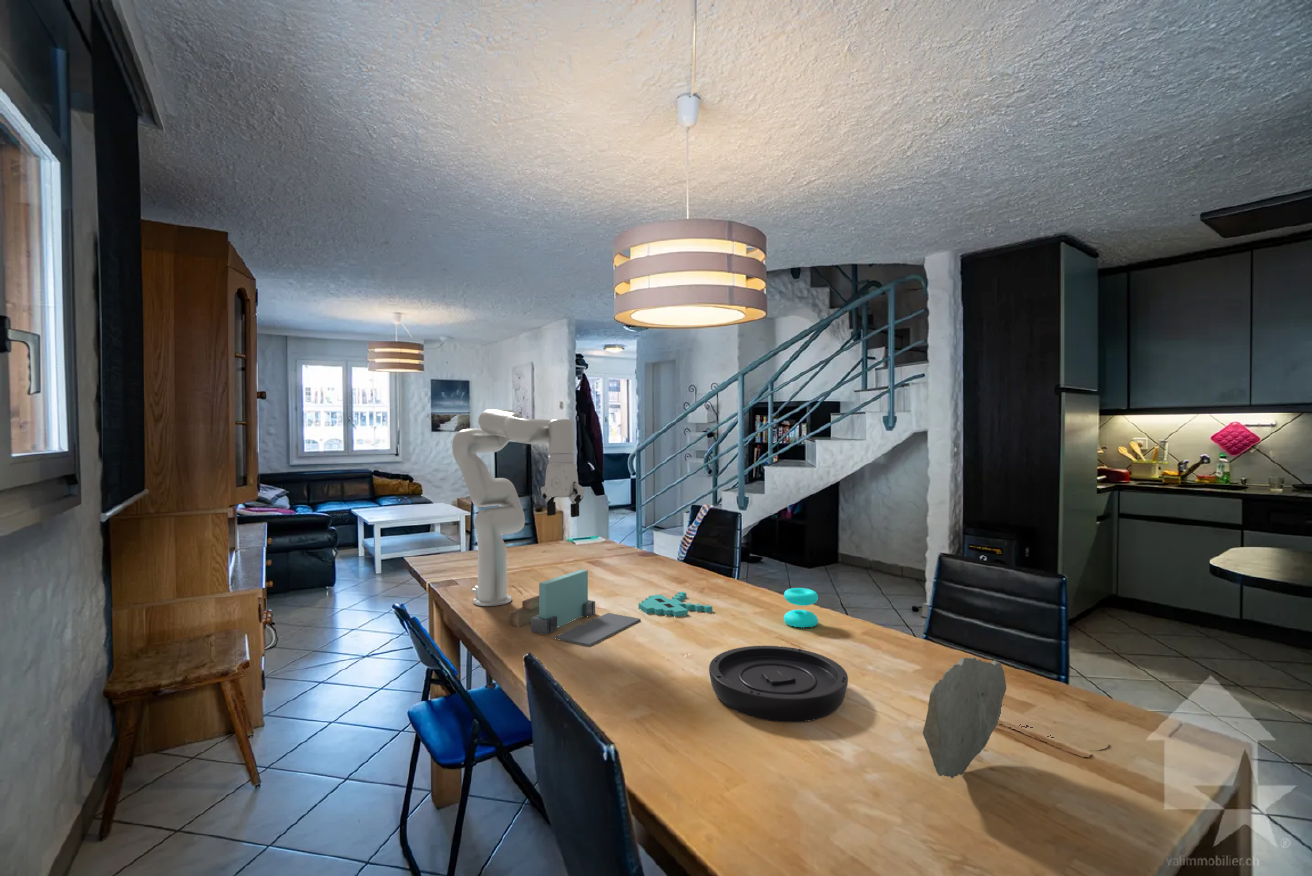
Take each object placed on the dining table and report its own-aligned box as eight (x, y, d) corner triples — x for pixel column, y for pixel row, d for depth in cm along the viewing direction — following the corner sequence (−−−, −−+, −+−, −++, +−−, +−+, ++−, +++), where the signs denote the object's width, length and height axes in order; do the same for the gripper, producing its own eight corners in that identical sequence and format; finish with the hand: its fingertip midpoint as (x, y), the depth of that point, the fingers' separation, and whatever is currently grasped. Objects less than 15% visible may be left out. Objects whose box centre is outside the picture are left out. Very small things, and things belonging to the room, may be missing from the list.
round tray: (797, 661, 155) (688, 677, 145) (797, 638, 155) (688, 652, 144) (878, 713, 127) (749, 738, 116) (878, 684, 127) (749, 706, 116)
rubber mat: (554, 638, 170) (554, 636, 170) (608, 614, 193) (608, 612, 193) (589, 646, 164) (589, 644, 164) (640, 620, 187) (640, 618, 187)
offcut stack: (508, 625, 183) (508, 605, 183) (552, 608, 200) (552, 590, 200) (518, 627, 181) (518, 607, 181) (562, 610, 198) (562, 592, 198)
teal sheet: (539, 631, 177) (539, 583, 177) (581, 613, 194) (581, 569, 194) (545, 632, 176) (545, 584, 176) (587, 614, 193) (587, 570, 193)
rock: (971, 738, 116) (972, 633, 116) (1008, 750, 111) (1009, 641, 111) (913, 797, 97) (914, 672, 97) (954, 815, 93) (955, 684, 92)
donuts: (824, 591, 183) (805, 597, 177) (824, 624, 183) (805, 632, 177) (796, 585, 191) (777, 590, 184) (796, 617, 191) (777, 623, 184)
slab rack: (530, 631, 176) (530, 617, 176) (580, 611, 196) (580, 598, 196) (546, 635, 174) (546, 620, 173) (595, 613, 194) (595, 601, 193)
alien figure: (683, 597, 214) (630, 604, 206) (683, 591, 214) (630, 598, 206) (712, 613, 196) (655, 621, 187) (712, 606, 196) (655, 614, 187)
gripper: (532, 460, 188) (533, 516, 188) (574, 459, 178) (576, 518, 178) (549, 459, 194) (551, 513, 194) (591, 459, 184) (593, 515, 184)
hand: (563, 516), depth 186 cm, fingers open, 9 cm apart
